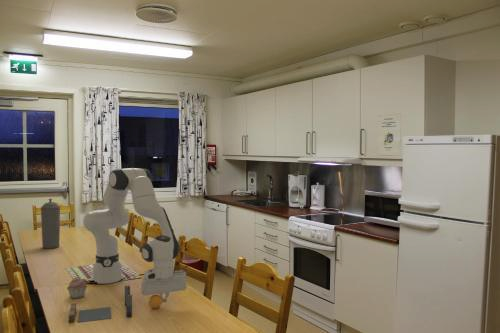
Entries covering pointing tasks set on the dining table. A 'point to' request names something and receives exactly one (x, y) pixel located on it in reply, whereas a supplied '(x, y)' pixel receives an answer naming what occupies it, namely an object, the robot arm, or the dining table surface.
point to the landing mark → (94, 314)
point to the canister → (50, 224)
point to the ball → (155, 301)
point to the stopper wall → (72, 313)
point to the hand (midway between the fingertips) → (164, 301)
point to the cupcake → (77, 287)
